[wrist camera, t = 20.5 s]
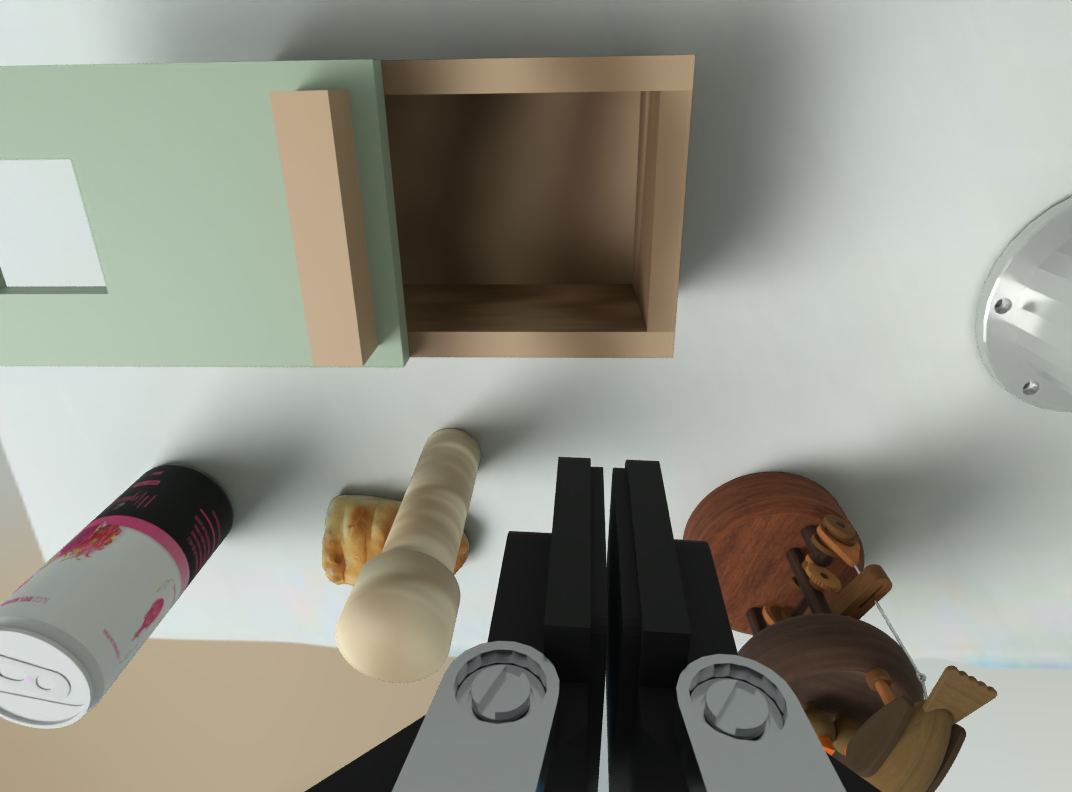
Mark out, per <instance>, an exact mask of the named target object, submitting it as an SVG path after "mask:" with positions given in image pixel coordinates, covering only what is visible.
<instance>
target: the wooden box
mask: <svg viewBox="0 0 1072 792" xmlns="http://www.w3.org/2000/svg"><path fill="white" fill-rule="evenodd" d="M694 63H695V55H652V56H597V57H543V58H489V59H435V60H381V68H382V78H383V89H384V99H385V109H386V119H387V130H388V140H389V150H390V161H391V171H392V181H393V191H394V202H395V212H396V222H397V232H398V243H399V253H400V263H401V274H402V284H403V294H404V304H405V315H406V325H407V335H408V345H409V356H410V357H547V358H673V353H674V339H675V325H676V312H677V298H678V284H679V270H680V256H681V243H682V229H683V215H684V201H685V188H686V174H687V160H688V146H689V132H690V119H691V105H692V91H693V77H694Z"/></svg>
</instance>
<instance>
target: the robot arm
mask: <svg viewBox="0 0 1072 792" xmlns="http://www.w3.org/2000/svg"><path fill="white" fill-rule="evenodd" d="M996 302H997V303H996ZM975 332H976V341H977V347H978V350H979V353H980V356H981V358H982V361H983V364H984V365H985V367H986V368H987V370H988V371H989V373H990V374H991V375H992V377H993V378H994V379H995V380H996V381H997V382H998V383H999V384H1000V385H1002V386H1003V387H1004V388H1005V389H1006V390H1007V391H1009V392H1010V393H1012V394H1013V395H1015V396H1016V397H1018V398H1019V399H1021V400H1023V401H1025V402H1027V403H1030V404H1032V405H1035V406H1037V407H1040V408H1043V409H1048V410H1054V411H1059V412H1072V197H1070V198H1068V199H1066V200H1065V201H1063V202H1061V203H1059V204H1057V205H1055V206H1053V207H1052V208H1050V209H1049V210H1047V211H1046V212H1045V213H1043V214H1042V215H1041V216H1039V217H1038V218H1037V219H1035V220H1034V221H1033V222H1031V223H1030V224H1029V225H1028V226H1027V227H1026V228H1025V229H1024V230H1023V231H1022V232H1021V233H1020V234H1019V235H1018V236H1017V237H1016V238H1015V239H1014V240H1013V241H1012V242H1011V243H1010V244H1009V245H1008V247H1007V248H1006V249H1005V251H1004V252H1003V253H1002V255H1001V256H1000V258H999V259H998V260H997V262H996V263H995V265H994V266H993V268H992V270H991V272H990V274H989V276H988V278H987V280H986V282H985V284H984V286H983V289H982V293H981V296H980V299H979V302H978V306H977V313H976V322H975ZM605 675H606V696H607V697H606V699H607V736H608V771H609V772H608V773H609V792H882V791H880V790H879V789H877V788H876V787H875V786H873V785H872V784H870V783H869V782H868V781H866V780H865V779H863V778H862V777H860V776H859V775H858V774H856V773H855V772H853V771H852V770H851V769H849V768H848V767H846V766H845V765H844V764H842V763H841V762H839V761H838V760H837V759H835V758H834V757H832V756H831V755H830V754H828V753H827V752H825V750H824V748H823V746H822V744H821V742H820V740H819V739H818V737H817V735H816V733H815V731H814V729H813V727H812V725H811V723H810V721H809V719H808V718H807V716H806V714H805V712H804V710H803V708H802V706H801V704H800V702H799V700H798V698H797V697H796V695H795V694H794V692H793V691H792V689H791V688H790V687H789V685H788V684H787V683H786V681H785V680H783V679H782V678H781V677H780V676H779V675H777V674H776V673H775V672H774V671H773V670H771V669H770V668H768V667H766V666H764V665H762V664H760V663H758V662H756V661H755V660H751V659H748V658H744V657H741V656H738V653H737V649H736V645H735V641H734V638H733V634H732V630H731V626H730V622H729V618H728V615H727V611H726V607H725V603H724V599H723V595H722V592H721V588H720V584H719V580H718V576H717V572H716V569H715V565H714V561H713V557H712V553H711V550H710V547H709V544H708V542H706V541H696V540H676V539H674V538H673V533H672V527H671V522H670V517H669V511H668V506H667V500H666V495H665V490H664V484H663V479H662V473H661V468H660V463H659V461H642V460H626V462H625V468H613V473H612V488H611V504H610V520H609V536H608V552H607V568H606V539H605V510H604V480H603V467H591V459H590V458H572V457H559V459H558V470H557V481H556V493H555V505H554V516H553V528H552V533H537V532H517V531H509V533H508V536H507V541H506V546H505V552H504V557H503V562H502V568H501V573H500V578H499V584H498V589H497V594H496V600H495V605H494V611H493V616H492V621H491V627H490V632H489V637H488V643H483V644H480V645H477V646H475V647H473V648H471V649H468V650H466V651H465V652H463V653H462V654H461V655H460V656H458V657H457V658H456V659H455V660H453V662H452V663H451V665H450V666H449V668H448V669H447V671H446V673H445V674H444V676H443V678H442V681H441V683H440V685H439V687H438V689H437V692H436V694H435V696H434V698H433V701H432V703H431V705H430V707H429V709H428V712H427V714H426V715H425V716H423V717H422V718H420V719H418V720H417V721H415V722H414V723H413V724H411V725H409V726H407V727H406V728H404V729H403V730H401V731H400V732H398V733H397V734H395V735H393V736H392V737H390V738H388V739H387V740H386V741H384V742H382V743H381V744H379V745H378V746H376V747H374V748H373V749H371V750H370V751H368V752H367V753H365V754H363V755H362V756H360V757H359V758H357V759H356V760H354V761H352V762H351V763H349V764H348V765H346V766H344V767H343V768H341V769H340V770H338V771H337V772H335V773H334V774H332V775H330V776H329V777H327V778H326V779H324V780H322V781H321V782H319V783H318V784H316V785H314V786H313V787H311V788H310V789H308V790H307V791H305V792H598V779H599V764H600V749H601V734H602V719H603V704H604V689H605Z"/></svg>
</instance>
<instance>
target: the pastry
mask: <svg viewBox="0 0 1072 792" xmlns="http://www.w3.org/2000/svg"><path fill="white" fill-rule="evenodd" d="M401 503H402V501H397V500H394V499H386V498H380V497H376V496H368V495H342V496H336V497H334V498H333V499H332V500H331V502H330V504H329V507H328V510H327V515H326V520H325V526H326V527H325V534H324V537H323V542H322V544H323V549H322V567H323V569H324V571H325V575H326V576H327V578H328V579H329V580H330V581H331V582H333V583H335V584H337V585H340V584H349V585H352V586H354V583H355V581H356V579H357V576H358V574H359V572H360V570H361V569H362V567H363V566H364V565H365V564H366V562H368V561H369V560H370V559H371V558H373V557H375V556H376V555H378V554H381V552H382V550H383V548H384V545H385V543H386V540H387V538H388V535H389V533H390V530H391V528H392V525H393V523H394V520H395V518H396V515H397V513H398V510H399V508H400V505H401ZM468 553H469V541H468V539H467V537H466V535H465V533H464V532H463V534H462V538H461V543H460V547H459V551H458V555H457V559H456V564H455V568H454V572H453V575H454V574H455V573H456V572H457V571H458V570H459V569H460V568H461V567H462V566H463V564H464V562H465V561H466V559H467V556H468Z"/></svg>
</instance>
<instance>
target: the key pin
mask: <svg viewBox="0 0 1072 792" xmlns="http://www.w3.org/2000/svg"><path fill="white" fill-rule="evenodd" d="M480 458H481V453H480V448H479V446H478V444H477V442H476V441H475V439H474V438H473V437H472V436H471V435H469V434H468V433H466V432H464V431H462V430H459V429H452V428H448V429H442V430H439V431H437V432H435V433H433V434H432V435H431V436H430V437H429V438H428V440H427V441H426V443H425V446H424V448H423V451H422V453H421V456H420V458H419V461H418V463H417V466H416V468H415V471H414V473H413V476H412V478H411V481H410V483H409V486H408V488H407V491H406V493H405V495H404V498H403V500H402V503H401V505H400V508H399V510H398V513H397V515H396V518H395V520H394V523H393V525H392V528H391V530H390V533H389V535H388V538H387V540H386V543H385V545H384V548H383V550H382V552H381V554H378V555H376V556H375V557H373V558H371V559H370V560H369V561H368V562H366V564H365V565H364V566H363V567H362V569H361V570H360V572H359V574H358V576H357V579H356V581H355V583H354V586H353V588H352V590H351V592H350V595H349V597H348V599H347V602H346V604H345V606H344V609H343V611H342V613H341V616H340V618H339V620H338V622H337V626H336V641H337V645H338V648H339V650H340V652H341V653H342V655H343V657H344V658H345V659H346V660H347V662H348V663H349V664H351V665H352V666H353V667H354V668H355V669H357V670H358V671H360V672H361V673H363V674H365V675H367V676H369V677H371V678H374V679H377V680H380V681H384V682H389V683H410V682H416V681H419V680H422V679H425V678H427V677H429V676H431V675H433V674H434V673H435V672H437V671H438V670H439V669H440V668H441V667H442V666H443V664H444V663H445V661H446V659H447V657H448V654H449V650H450V645H451V641H452V636H453V631H454V627H455V622H456V617H457V612H458V608H459V603H460V589H459V585H458V582H457V580H456V578H455V576H454V575H453V572H454V568H455V564H456V559H457V555H458V551H459V547H460V543H461V538H462V534H463V530H464V526H465V522H466V517H467V513H468V509H469V505H470V501H471V496H472V492H473V488H474V484H475V480H476V475H477V471H478V467H479V463H480Z"/></svg>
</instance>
